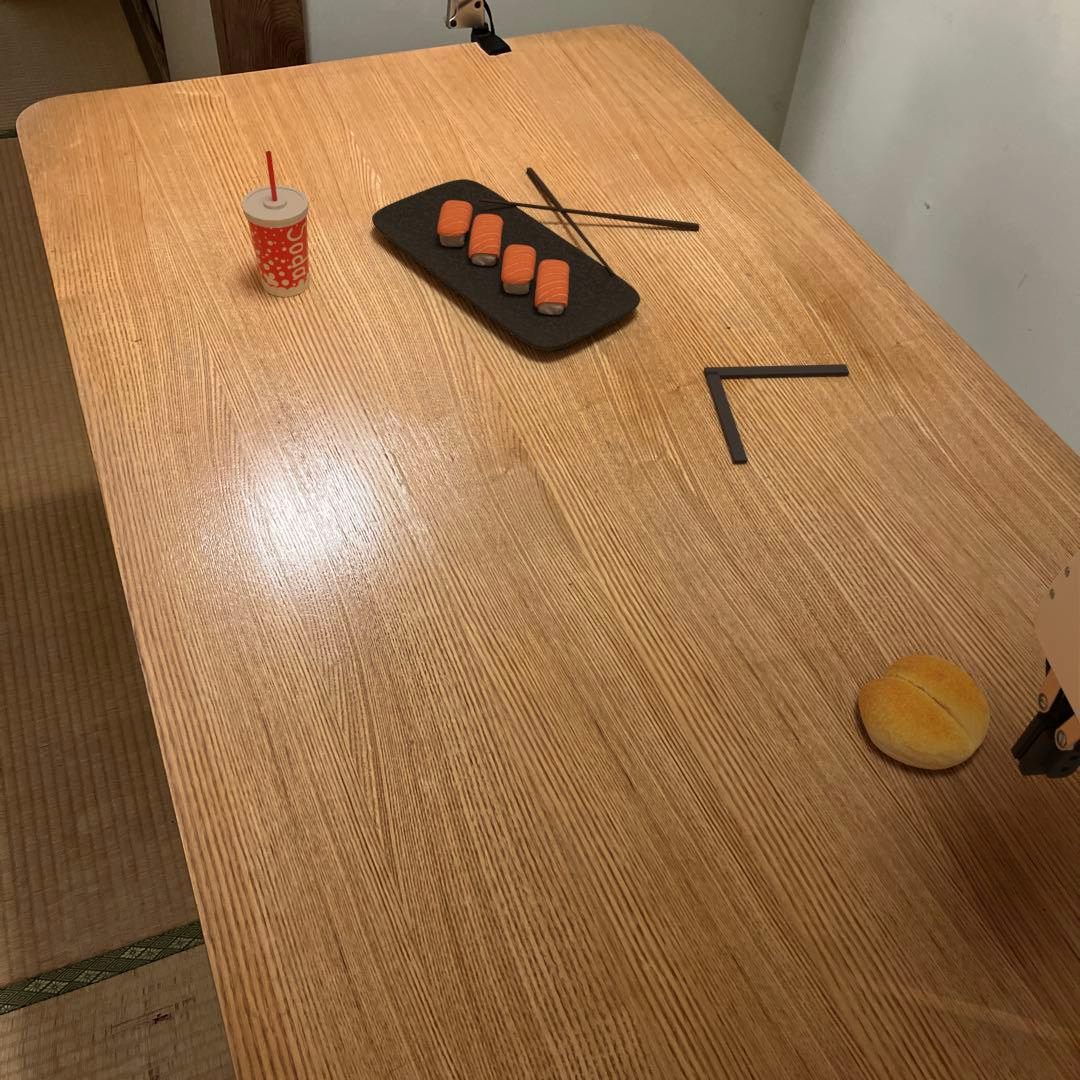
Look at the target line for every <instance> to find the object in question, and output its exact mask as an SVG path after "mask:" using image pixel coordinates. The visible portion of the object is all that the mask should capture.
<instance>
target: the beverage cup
mask: <svg viewBox="0 0 1080 1080" xmlns="http://www.w3.org/2000/svg"><path fill="white" fill-rule="evenodd" d="M265 157H266V165H267V172H268V180H269V185H265V186H260V187H258V188H255V189H253V190H250V191H249V192H248V193H247V194H245V196H244V197H243V198H242V201H241V208H242V213H243V215H244V217H245V220H247V224H248V228H249V233H250V237H251V242H252V245H253V250H254V253H255V254H254V255H255V258H256V264H257V267H258V271H259V277H260V280H261V285H262V288H263V289H264V291H265V292H266V293H268V294H270V295H272V296H276V297H279V298H280V297H281V298H282V297H283V298H289V297H293V296H298V295H300V294H302V293H304V292H305V291H306V290H307V289H308V288H309V287H310V262H309V261H310V260H309V237H308V214H309V209H310V207H309V206H310V205H309V203H310V202H309V201H310V200H309V199H308V197H307V195H306V194H305V193H304V191H301V190H300V189H298V188H296V187H293V186H289V185H279V184H276V179H275V172H274V171H275V170H274V164H273V163H274V162H273V155H272V151H271V150H267V151H265Z"/></svg>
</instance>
